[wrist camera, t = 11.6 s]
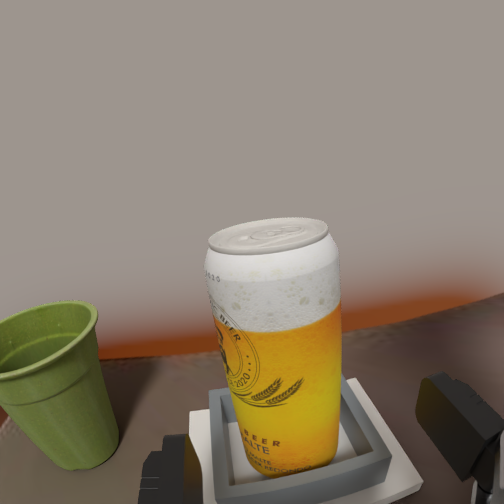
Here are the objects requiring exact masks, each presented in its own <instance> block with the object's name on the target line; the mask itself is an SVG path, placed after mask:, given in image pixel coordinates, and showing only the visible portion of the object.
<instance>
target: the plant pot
mask: <svg viewBox="0 0 504 504" xmlns="http://www.w3.org/2000/svg"><path fill="white" fill-rule="evenodd" d="M97 320H98V311H97V309H96V307H95V306H94V305H92V304H91V303H88V302H85V301H59V302H53V303H47V304H43V305H39V306H37V307H32V308H29V309H26V310H24V311H21V312H18V313H17V314H14V315H11V316H9V317H7V318H5V319H3V320H1V321H0V405H1V406H2V408H3V409H4V410H5V411H6V412H7V413H8V415H9V416H10V417H11V418H12V419H13V421H14V422H15V423H16V424H17V425H18V426H19V427H20V428H21V430H22V431H23V432H24V433H25V434H26V435H27V436H28V437H29V438H30V439H31V440H32V441H33V442H34V443H35V444H36V445H37V446H38V447H39V448H40V449H41V450H42V451H43V452H44V453H45V454H46V455H47V456H48V457H49V458H50V459H51V460H52V461H53V462H54V463H55V464H56V465H58V466H59V467H61V468H63V469H66V470H71V471H72V470H75V469H91V468H94V467H96V466H98V465H100V464H101V463H103V462H104V461H106V460H107V459H108V458H109V457H110V456H111V455H112V454H113V452H114V451H115V449H116V448H117V445H118V441H119V430H118V426H117V423H116V420H115V417H114V413H113V410H112V407H111V404H110V400H109V397H108V393H107V390H106V386H105V382H104V379H103V375H102V371H101V366H100V362H99V358H98V343H97V338H96V332H95V325H96V323H97Z"/></svg>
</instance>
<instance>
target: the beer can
mask: <svg viewBox="0 0 504 504" xmlns="http://www.w3.org/2000/svg"><path fill="white" fill-rule="evenodd" d="M208 243H209V248H208V252H207V256H206V259H205V263H204V271H205V277H206V282H207V287H208V292H209V297H210V303H211V307H212V312H213V317H214V322H215V327H216V331H217V336H218V341H219V345H220V350H221V355H222V359H223V364H224V368H225V372H226V377H227V381H228V385H229V390H230V394H231V398H232V402H233V406H234V410H235V414H236V418H237V422H238V426H239V430H240V434H241V438H242V442H243V446H244V450H245V453H246V457H247V460H248V462H249V463H250V465H251V466H252V467H253V468H254V469H255V470H256V471H258V472H259V473H260V474H262V475H264V476H267V477H269V478H272V479H275V478H280V477H285V476H289V475H294V474H298V473H302V472H306V471H310V470H314V469H318V468H322V467H325V466H328V465H329V464H330V463H331V461H332V460H333V458H334V457H335V455H336V452H337V449H338V439H339V422H340V399H341V290H340V289H341V288H340V264H339V250H338V248H337V246H336V244H335V243H334V240H333V239H332V237H331V235H330V233H329V232H328V225H327V224H326V223H325V222H322V221H320V220H316V219H310V218H276V219H266V220H259V221H253V222H248V223H243V224H239V225H235V226H232V227H229V228H226V229H223V230H221V231H218V232H217V233H215V234H213V235H212V236H211V237H210V238H209V240H208Z"/></svg>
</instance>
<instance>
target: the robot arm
mask: <svg viewBox="0 0 504 504" xmlns="http://www.w3.org/2000/svg"><path fill="white" fill-rule="evenodd" d="M415 413H416V418H417V420H418V422H419V424H420V425H421V427H422V428H423V429H424V431H425V432H426V433H427V435H428V436H429V437H430V439H431V440H432V441H433V443H434V444H435V446H436V447H437V448H438V450H439V451H440V452H441V454H442V455H443V456H444V458H445V459H446V460H447V462H448V463H449V465H450V466H451V467H452V469H453V470H454V471H455V473H456V474H457V476H458V477H459V478H460V480H461V481H462V482H463V481H465V480H467V479H468V478H470V477H472V476H473V477H474V478H475V481H474V484H473V491H472V498H471V504H504V420H503V419H502V418H501V417H500V416H499V415H498V414H497V413H496V412H495V411H494V410H493V409H492V408H491V407H490V406H489V405H488V404H487V403H486V402H485V401H483V399H482V398H481V397H480V396H479V395H477V394H476V392H475V391H474V390H473V389H472V388H471V387H470V386H469V385H467V384H465V383H463V382H461V381H459V380H457V379H455V380H452V379H451V378H450V377H449V376H448V375H447V374H446V373H445V372H443V371H440V372H438V373H435V374H433V375H431V376H428V377H426V378H424V379H423V380H422V382H421V386H420V391H419V395H418V400H417V404H416V409H415ZM141 477H142V479H141V483H140V491H139V498H138V504H203V476H202V468H201V464H200V461H199V458H198V456H197V454H196V451H195V449H194V447H193V444H192V442H191V439H190V437H189V435H188V434H177V435H165V436H164V438H163V445H162V451H151V453H150V454H149V456H148V457H147V459H146V460H145V462H144V463H143V470H142V476H141Z"/></svg>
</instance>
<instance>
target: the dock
mask: <svg viewBox="0 0 504 504" xmlns="http://www.w3.org/2000/svg"><path fill="white" fill-rule="evenodd" d="M189 437H190V439H191V442H192V444H193V447H194V449H195V451H196V454H197V456H198V458H199V461H200V464H201V468H202V476H203V504H389V503H391V502H394V501H396V500H399V499H401V498H403V497H405V496H408V495H410V494H412V493H414V492H416V491H418V490H419V489H420V487H421V485H422V483H423V480H422V478H421V477H420V475H419V474H418V472H417V470H416V469H415V467H414V466H413V464H412V463H411V461H410V460H409V458H408V457H407V455H406V453H405V452H404V450H403V449H402V447H401V446H400V444H399V443H398V441H397V440H396V438H395V437H394V435H393V434H392V432H391V431H390V429H389V427H388V426H387V424H386V423H385V421H384V420H383V418H382V417H381V415H380V414H379V412H378V411H377V409H376V408H375V406H374V405H373V403H372V402H371V400H370V399H369V397H368V396H367V394H366V393H365V391H364V390H363V388H362V387H361V385H360V384H359V382H358V381H357V379H356V378H352V379H349V380H345V378H344V376H343V375H342V373H341V399H340V422H339V439H338V449H337V452H336V455H335V457H334V458H333V460H332V461H331V463H330V464H329V465H328V466H325V467H322V468H318V469H314V470H310V471H306V472H302V473H298V474H294V475H289V476H285V477H280V478H275V479H272V478H269V477H267V476H264V475H262V474H260V473H259V472H258V471H256V470H255V469H254V468H253V467H252V466H251V465H250V463H249V462H248V460H247V457H246V453H245V450H244V446H243V442H242V438H241V434H240V430H239V426H238V422H237V418H236V414H235V410H234V406H233V402H232V398H231V394H230V390H229V387H228V388H222V389H215V390H209V409H207V410H199V411H191V412H190V424H189Z"/></svg>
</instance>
